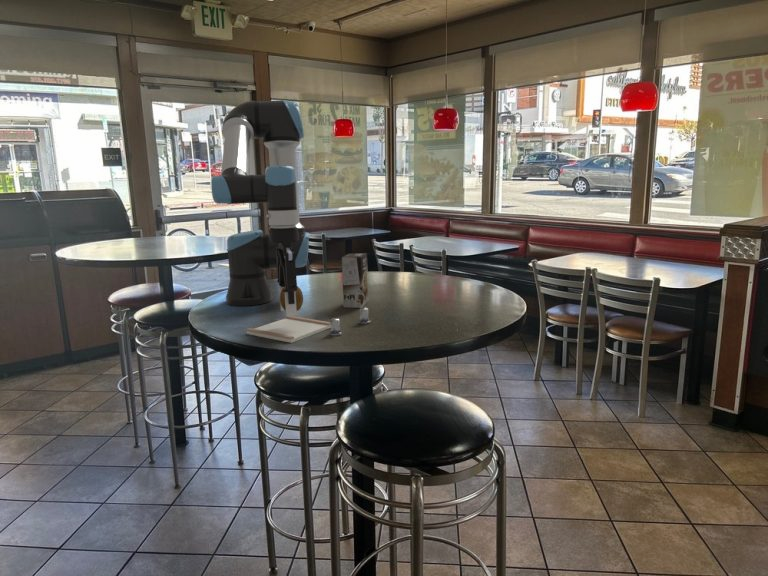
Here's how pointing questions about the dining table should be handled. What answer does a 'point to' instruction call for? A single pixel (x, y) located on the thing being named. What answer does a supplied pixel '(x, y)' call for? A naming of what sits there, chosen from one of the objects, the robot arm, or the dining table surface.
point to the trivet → (290, 329)
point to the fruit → (298, 299)
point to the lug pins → (336, 322)
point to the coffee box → (355, 280)
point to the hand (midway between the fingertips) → (288, 312)
